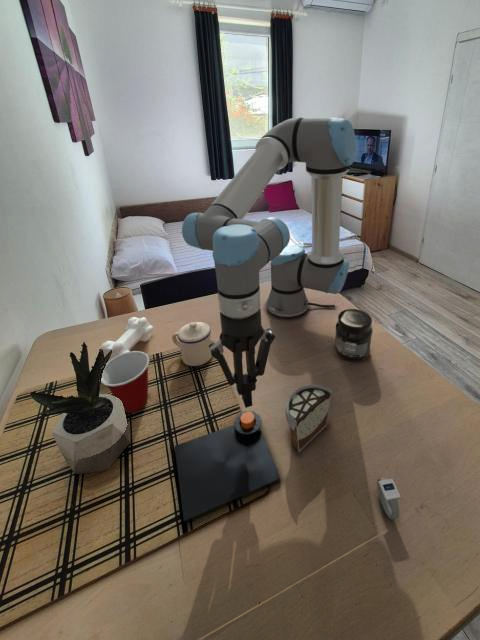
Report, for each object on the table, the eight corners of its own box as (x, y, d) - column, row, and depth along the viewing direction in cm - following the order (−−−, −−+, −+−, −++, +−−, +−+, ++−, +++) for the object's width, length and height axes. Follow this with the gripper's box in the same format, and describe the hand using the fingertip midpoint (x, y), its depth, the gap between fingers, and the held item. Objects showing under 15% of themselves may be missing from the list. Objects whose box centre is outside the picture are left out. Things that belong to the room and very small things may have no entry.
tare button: (252, 415, 73) (251, 409, 73) (256, 426, 71) (256, 420, 70) (239, 420, 72) (238, 414, 72) (243, 431, 70) (242, 425, 69)
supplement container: (358, 337, 104) (361, 305, 99) (376, 358, 94) (381, 324, 90) (328, 343, 100) (330, 311, 96) (344, 366, 91) (347, 332, 87)
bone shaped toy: (128, 371, 89) (122, 348, 86) (100, 368, 91) (93, 344, 88) (157, 338, 103) (152, 316, 100) (132, 335, 104) (127, 313, 101)
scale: (256, 416, 76) (256, 407, 75) (282, 481, 63) (282, 471, 62) (174, 446, 70) (172, 436, 68) (184, 525, 56) (182, 514, 55)
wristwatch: (401, 523, 56) (405, 506, 54) (386, 527, 56) (390, 509, 54) (385, 486, 62) (389, 469, 60) (372, 489, 62) (375, 472, 60)
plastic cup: (110, 394, 82) (99, 357, 77) (156, 381, 86) (148, 345, 81) (107, 429, 73) (95, 389, 68) (158, 413, 77) (150, 374, 72)
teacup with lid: (218, 349, 98) (215, 316, 93) (203, 370, 90) (199, 335, 85) (183, 342, 101) (178, 310, 96) (166, 362, 93) (159, 328, 88)
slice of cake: (311, 405, 79) (312, 374, 75) (331, 421, 75) (333, 389, 71) (273, 438, 71) (273, 404, 67) (293, 457, 67) (294, 423, 63)
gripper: (208, 329, 54) (221, 427, 64) (280, 311, 59) (282, 405, 69) (200, 306, 61) (213, 398, 70) (266, 292, 65) (269, 380, 75)
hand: (247, 401), depth 69 cm, fingers closed
